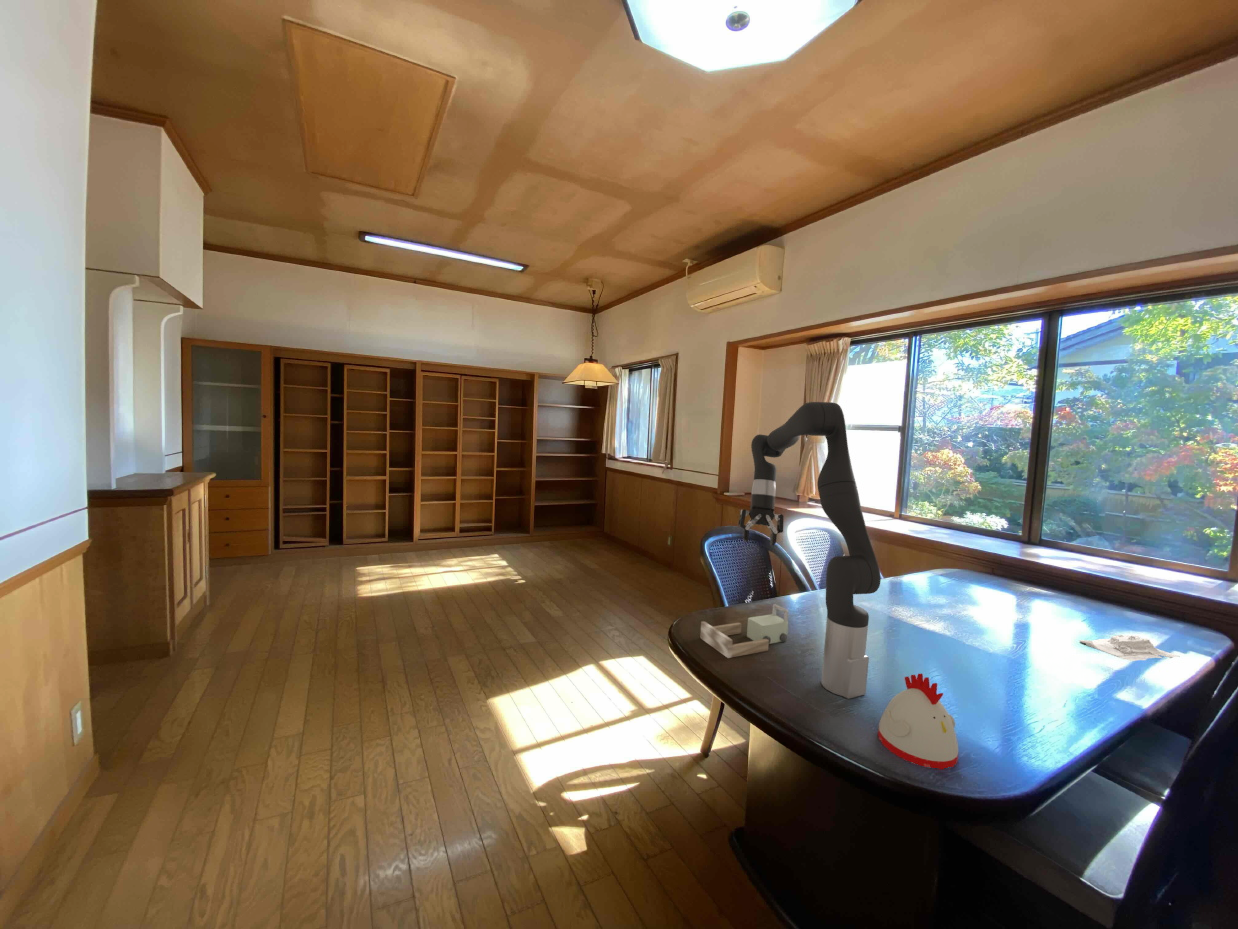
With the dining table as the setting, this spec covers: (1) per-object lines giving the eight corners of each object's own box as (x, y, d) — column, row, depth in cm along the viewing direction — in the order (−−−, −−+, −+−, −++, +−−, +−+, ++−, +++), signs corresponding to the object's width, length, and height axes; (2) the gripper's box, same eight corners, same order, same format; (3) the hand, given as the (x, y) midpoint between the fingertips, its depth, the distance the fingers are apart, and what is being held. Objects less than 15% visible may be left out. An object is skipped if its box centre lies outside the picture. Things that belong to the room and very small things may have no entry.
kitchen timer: (917, 774, 91) (925, 697, 90) (863, 729, 105) (869, 662, 103) (974, 764, 95) (983, 690, 94) (914, 722, 108) (921, 657, 107)
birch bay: (768, 650, 140) (769, 633, 140) (727, 658, 134) (729, 640, 134) (738, 631, 152) (739, 616, 152) (700, 638, 146) (701, 621, 146)
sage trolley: (788, 641, 147) (791, 611, 146) (762, 646, 143) (764, 615, 142) (771, 631, 154) (773, 602, 153) (745, 636, 150) (747, 605, 149)
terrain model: (1074, 648, 157) (1076, 633, 157) (1111, 636, 167) (1112, 621, 166) (1146, 672, 142) (1148, 655, 142) (1181, 657, 151) (1183, 641, 151)
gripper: (745, 490, 158) (741, 541, 156) (788, 496, 158) (784, 546, 156) (739, 492, 166) (734, 540, 163) (780, 498, 166) (776, 546, 164)
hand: (759, 543), depth 160 cm, fingers open, 8 cm apart
